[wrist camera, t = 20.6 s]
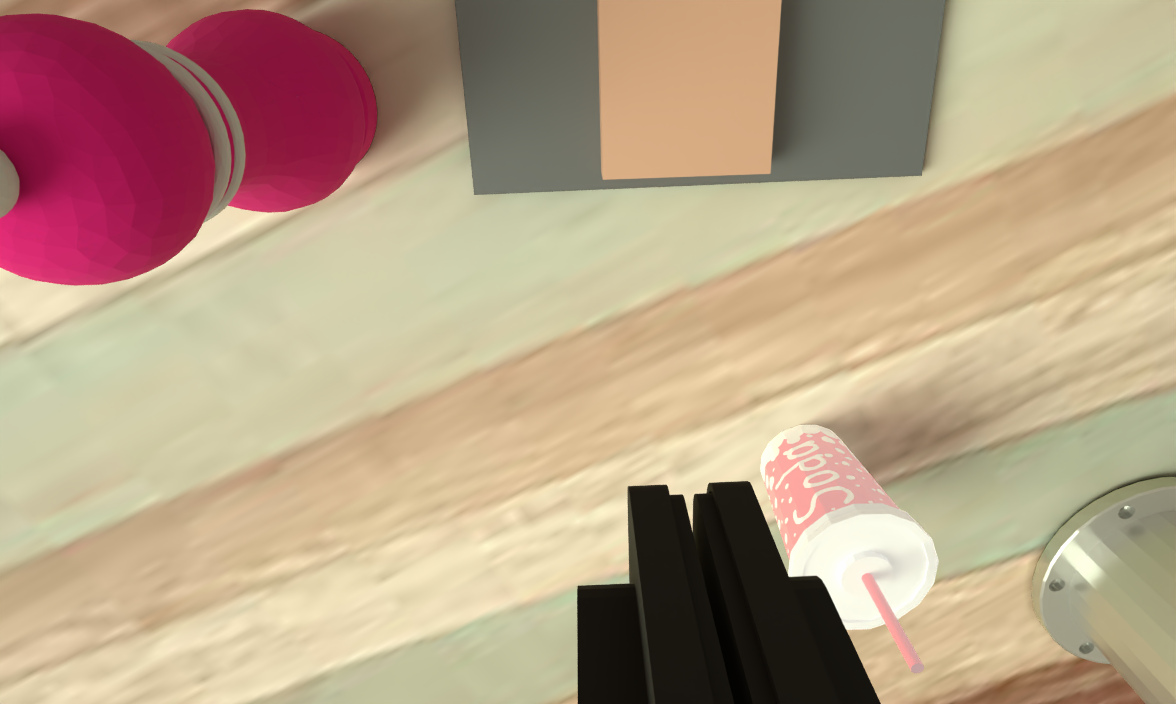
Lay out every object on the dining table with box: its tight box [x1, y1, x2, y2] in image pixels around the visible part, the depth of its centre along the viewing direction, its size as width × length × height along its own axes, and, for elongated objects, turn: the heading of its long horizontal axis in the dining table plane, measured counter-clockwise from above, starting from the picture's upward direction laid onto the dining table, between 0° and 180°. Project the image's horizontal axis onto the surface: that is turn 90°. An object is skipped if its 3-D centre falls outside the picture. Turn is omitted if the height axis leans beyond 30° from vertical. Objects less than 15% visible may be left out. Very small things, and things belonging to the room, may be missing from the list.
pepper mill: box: [0, 9, 377, 285], centre depth 22 cm, size 7×7×20 cm
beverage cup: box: [760, 425, 939, 673], centre depth 32 cm, size 6×6×14 cm
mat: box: [455, 0, 945, 195], centre depth 30 cm, size 20×14×1 cm
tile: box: [597, 0, 782, 180], centre depth 30 cm, size 2×8×7 cm
